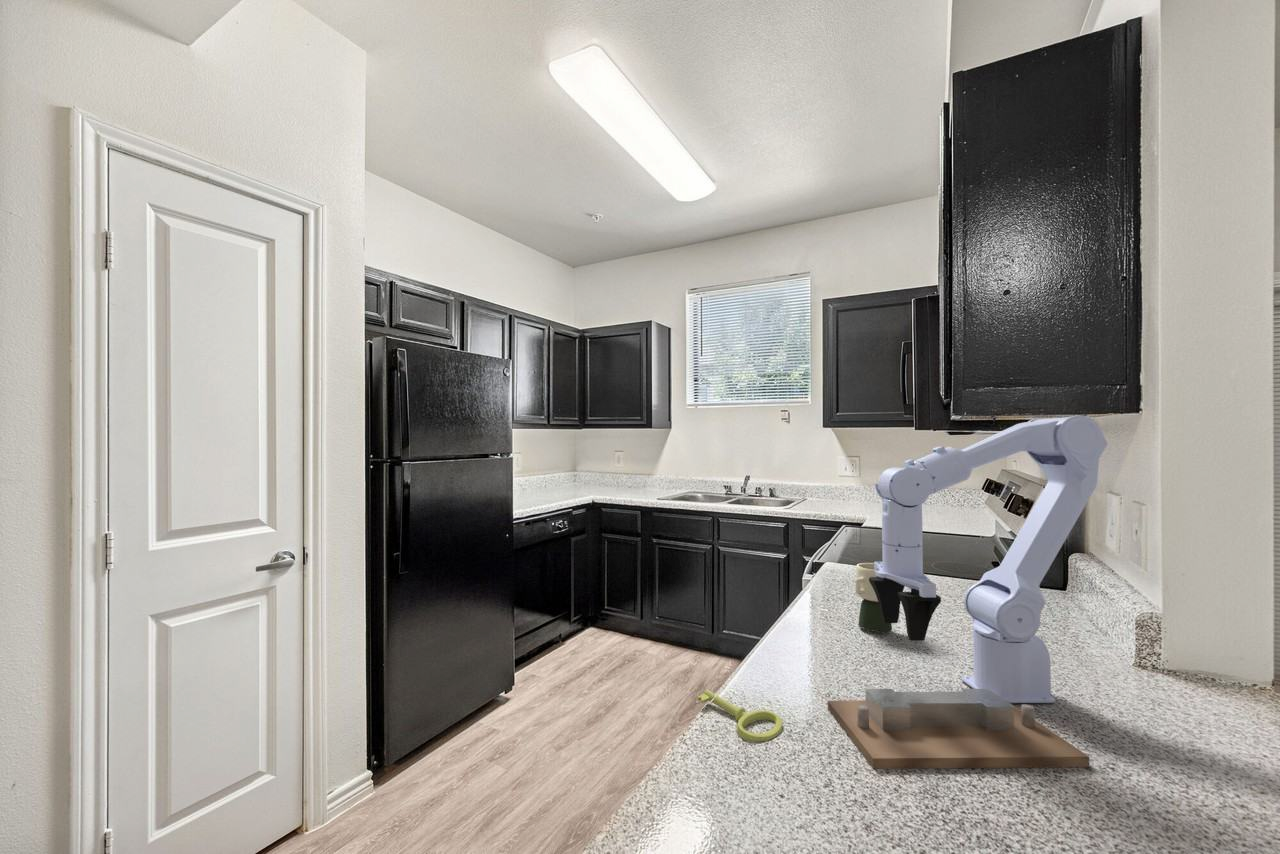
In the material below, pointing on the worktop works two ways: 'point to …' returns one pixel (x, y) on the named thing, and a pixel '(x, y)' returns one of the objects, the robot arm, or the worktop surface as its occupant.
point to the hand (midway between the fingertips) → (902, 630)
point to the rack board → (956, 743)
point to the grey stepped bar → (939, 709)
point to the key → (746, 718)
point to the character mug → (869, 600)
